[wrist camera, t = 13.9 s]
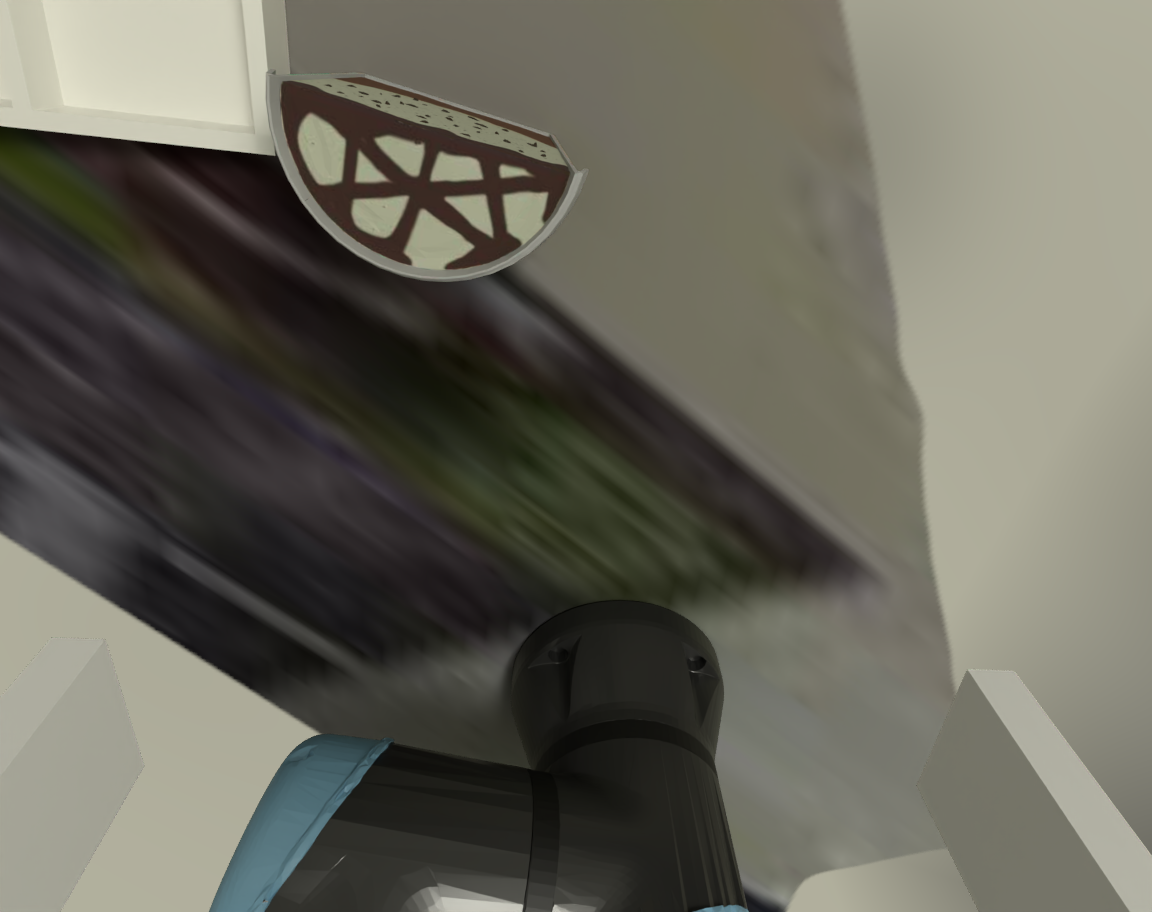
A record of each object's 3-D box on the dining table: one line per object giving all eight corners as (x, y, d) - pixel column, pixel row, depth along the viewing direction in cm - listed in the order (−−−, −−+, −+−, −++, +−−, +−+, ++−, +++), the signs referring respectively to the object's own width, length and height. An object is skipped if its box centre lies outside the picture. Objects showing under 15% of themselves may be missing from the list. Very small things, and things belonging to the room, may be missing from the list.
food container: (313, 194, 37) (237, 243, 28) (329, 61, 34) (250, 70, 26) (549, 264, 39) (546, 329, 30) (583, 144, 36) (591, 178, 28)
